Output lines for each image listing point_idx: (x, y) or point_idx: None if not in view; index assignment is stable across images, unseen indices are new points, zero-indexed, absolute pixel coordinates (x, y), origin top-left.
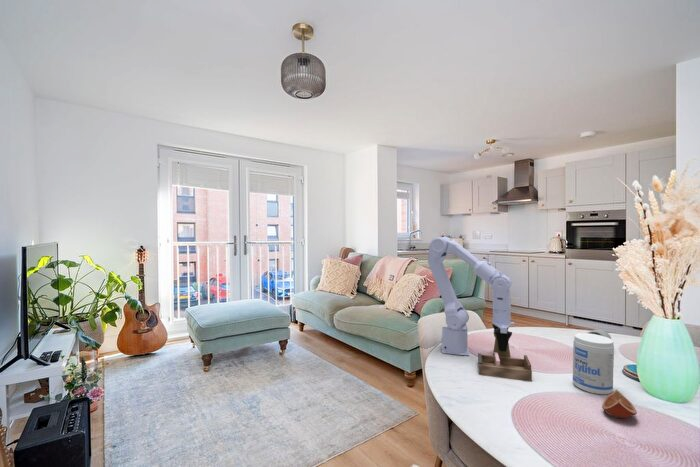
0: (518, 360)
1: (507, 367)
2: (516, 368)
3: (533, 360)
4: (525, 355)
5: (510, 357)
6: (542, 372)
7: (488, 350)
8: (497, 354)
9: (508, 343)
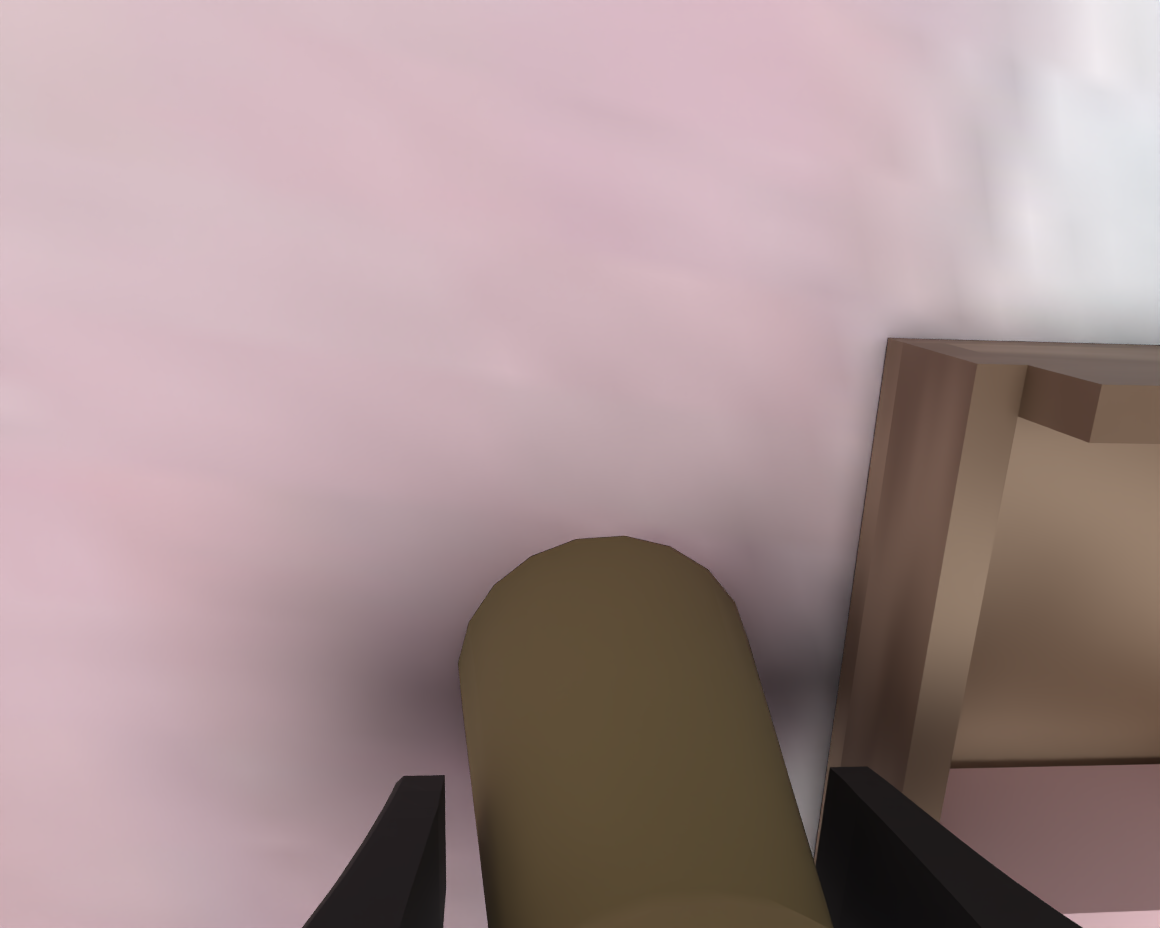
0: (986, 507)
1: (993, 639)
2: (1013, 514)
3: (441, 109)
4: (1113, 411)
5: (645, 577)
6: (1027, 84)
7: (185, 836)
8: (1108, 923)
9: (698, 787)
